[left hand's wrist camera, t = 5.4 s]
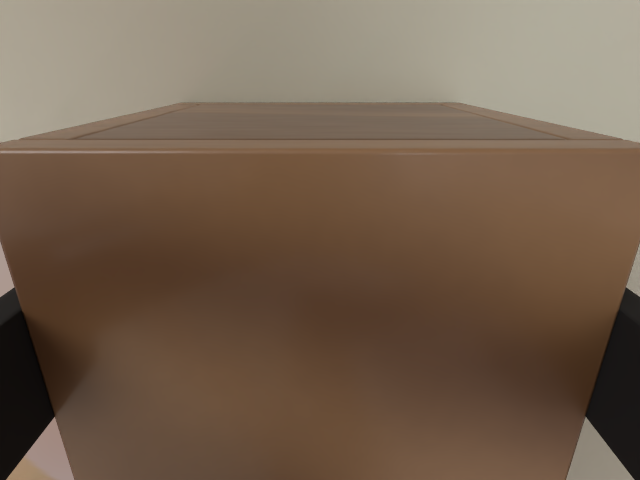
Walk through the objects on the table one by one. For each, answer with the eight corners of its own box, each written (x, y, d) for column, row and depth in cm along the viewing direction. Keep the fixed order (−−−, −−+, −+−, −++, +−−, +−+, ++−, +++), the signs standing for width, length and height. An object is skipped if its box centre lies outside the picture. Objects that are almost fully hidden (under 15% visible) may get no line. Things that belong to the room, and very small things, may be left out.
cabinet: (414, 478, 25) (480, 758, 15) (225, 478, 25) (159, 758, 15) (459, 102, 17) (671, 149, 7) (180, 102, 17) (-32, 148, 7)
